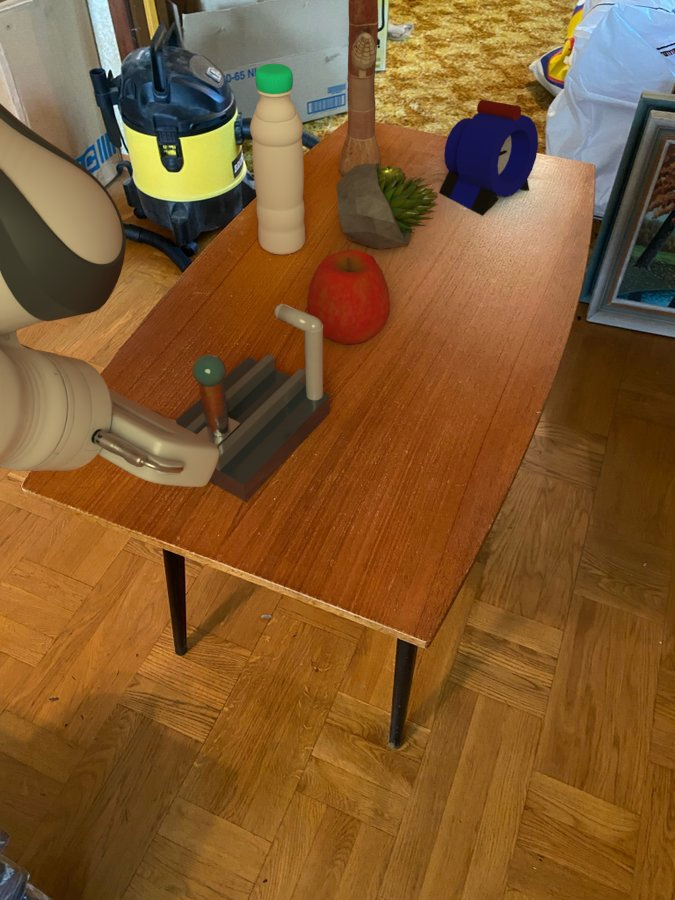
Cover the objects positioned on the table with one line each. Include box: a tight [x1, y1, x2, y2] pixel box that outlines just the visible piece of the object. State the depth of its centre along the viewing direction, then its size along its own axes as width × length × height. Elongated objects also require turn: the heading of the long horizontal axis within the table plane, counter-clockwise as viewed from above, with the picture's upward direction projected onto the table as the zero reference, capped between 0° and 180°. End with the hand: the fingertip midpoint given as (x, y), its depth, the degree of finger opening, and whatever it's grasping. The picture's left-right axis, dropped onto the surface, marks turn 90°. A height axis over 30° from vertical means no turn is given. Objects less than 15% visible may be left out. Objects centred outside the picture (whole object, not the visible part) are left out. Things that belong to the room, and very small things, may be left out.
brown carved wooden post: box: [338, 0, 382, 178], centre depth 112 cm, size 10×7×30 cm
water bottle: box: [249, 63, 306, 256], centre depth 99 cm, size 7×7×25 cm
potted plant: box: [336, 163, 439, 250], centre depth 105 cm, size 12×13×15 cm
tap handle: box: [191, 353, 241, 447], centre depth 73 cm, size 3×4×12 cm
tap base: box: [174, 303, 331, 503], centre depth 77 cm, size 12×16×14 cm
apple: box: [306, 249, 391, 346], centre depth 91 cm, size 11×11×11 cm
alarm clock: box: [438, 99, 539, 217], centre depth 114 cm, size 12×12×15 cm
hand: (163, 423), depth 67 cm, fingers closed
